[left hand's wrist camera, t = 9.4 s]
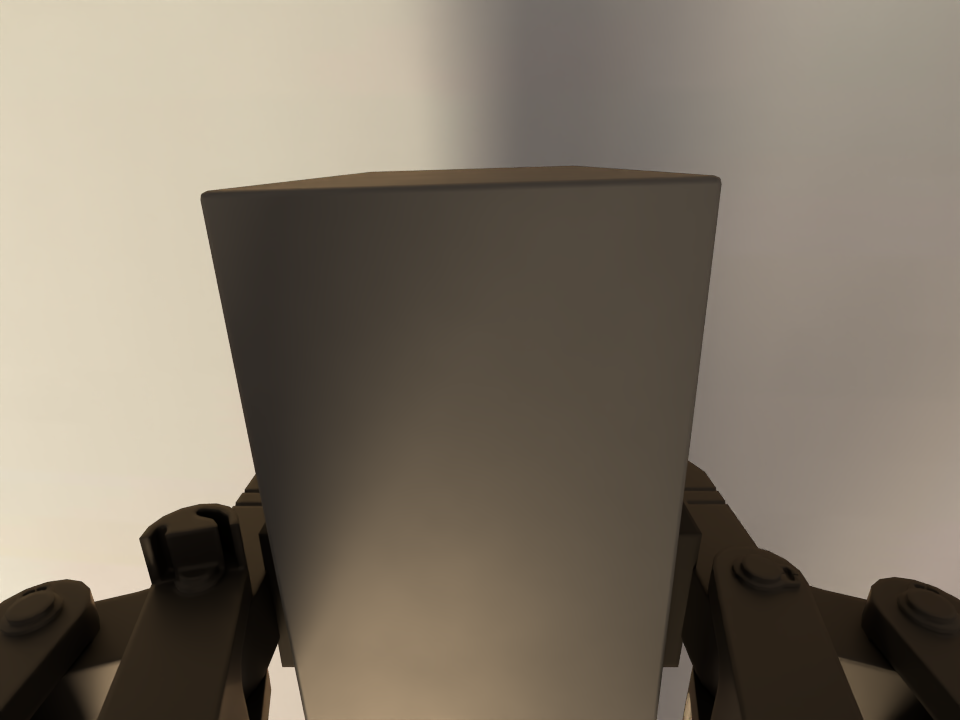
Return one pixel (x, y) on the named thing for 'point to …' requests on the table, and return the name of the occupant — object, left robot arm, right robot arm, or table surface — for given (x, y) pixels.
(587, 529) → the post
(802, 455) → the table surface
